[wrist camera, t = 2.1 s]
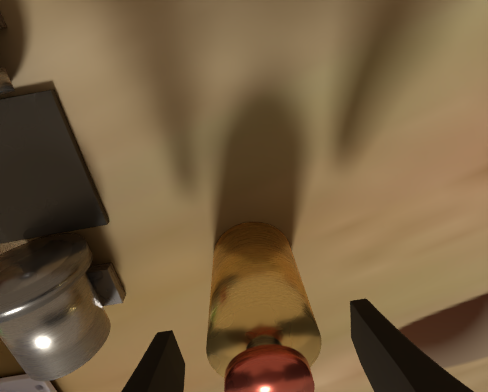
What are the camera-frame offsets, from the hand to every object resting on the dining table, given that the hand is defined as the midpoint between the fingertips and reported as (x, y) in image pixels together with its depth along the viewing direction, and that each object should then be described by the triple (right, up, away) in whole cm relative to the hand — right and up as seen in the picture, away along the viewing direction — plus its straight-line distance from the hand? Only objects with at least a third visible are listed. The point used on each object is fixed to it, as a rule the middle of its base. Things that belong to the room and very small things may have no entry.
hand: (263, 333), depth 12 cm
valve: (0, +2, +5) cm, 5 cm away
